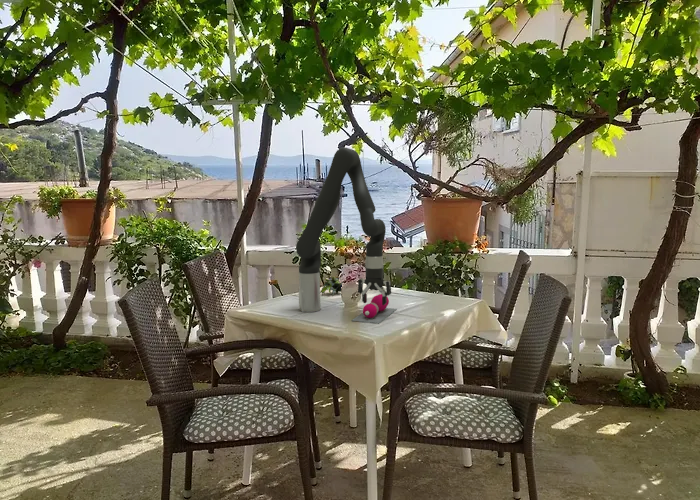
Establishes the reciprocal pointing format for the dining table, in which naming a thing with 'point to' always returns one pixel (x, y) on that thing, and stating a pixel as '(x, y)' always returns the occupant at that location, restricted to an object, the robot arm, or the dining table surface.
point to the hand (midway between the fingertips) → (374, 303)
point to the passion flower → (332, 285)
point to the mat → (377, 318)
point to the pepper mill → (374, 306)
